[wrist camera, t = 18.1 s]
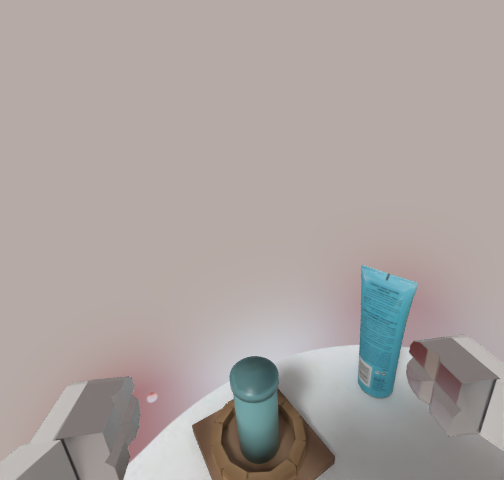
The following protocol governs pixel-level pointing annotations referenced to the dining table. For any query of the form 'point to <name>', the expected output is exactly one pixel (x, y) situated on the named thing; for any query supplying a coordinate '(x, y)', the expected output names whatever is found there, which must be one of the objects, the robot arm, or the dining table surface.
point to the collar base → (276, 470)
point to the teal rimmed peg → (256, 408)
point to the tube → (382, 328)
